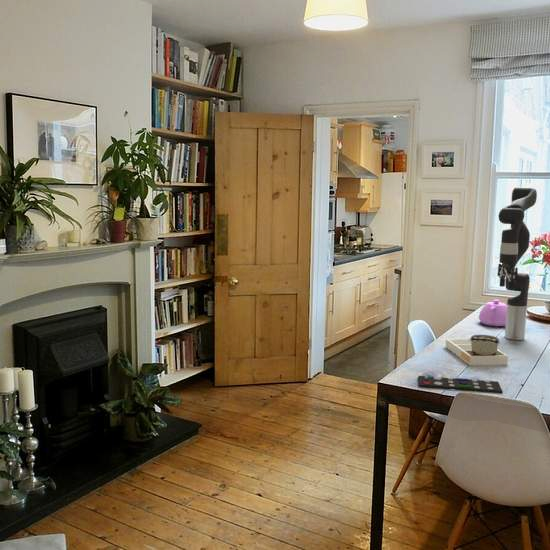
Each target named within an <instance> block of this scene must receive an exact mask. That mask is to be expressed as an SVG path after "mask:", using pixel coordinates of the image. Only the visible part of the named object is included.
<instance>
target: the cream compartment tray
mask: <svg viewBox="0 0 550 550" xmlns="http://www.w3.org/2000/svg"><path fill="white" fill-rule="evenodd" d="M445 348H446V349H447V348H448V350H449V351H450V350H451V351H452V353H453V354H454V353H455V354H456V356H457V358H459V357H460V358H459V359H461V361H463V360H464V363H466V364H467V363H468V364H467V365H469V366H470V365H473V366H508V361H509V355H507V354H506V353H504V352H502V351H501V350H499V349H498V348H497V353H496V356H472V345H471V341H470V338H446V339H445ZM455 354H454V355H455Z"/></svg>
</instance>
